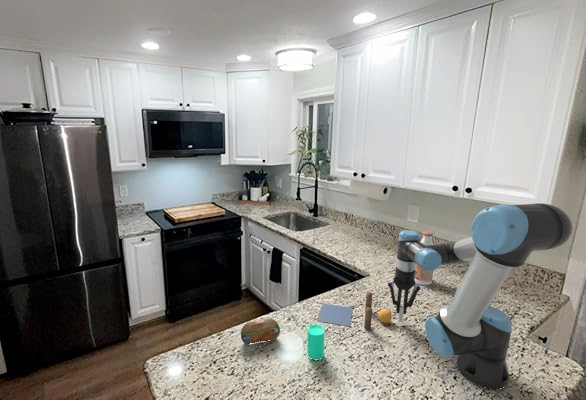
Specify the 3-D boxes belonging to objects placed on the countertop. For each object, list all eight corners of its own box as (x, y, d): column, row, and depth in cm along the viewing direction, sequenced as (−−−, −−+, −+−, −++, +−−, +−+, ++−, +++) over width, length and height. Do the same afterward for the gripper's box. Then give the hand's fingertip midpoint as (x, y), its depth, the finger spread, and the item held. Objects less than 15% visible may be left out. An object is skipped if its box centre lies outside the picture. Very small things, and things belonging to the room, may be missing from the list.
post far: (371, 313, 136) (372, 295, 134) (365, 312, 137) (366, 294, 135) (371, 310, 138) (372, 292, 136) (365, 309, 139) (366, 291, 137)
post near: (370, 330, 124) (372, 311, 122) (364, 329, 125) (365, 310, 123) (370, 327, 127) (372, 307, 125) (364, 326, 127) (365, 306, 125)
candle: (313, 346, 115) (314, 318, 112) (326, 354, 111) (327, 325, 108) (303, 355, 110) (304, 326, 107) (317, 363, 106) (318, 333, 104)
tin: (241, 347, 114) (240, 327, 113) (240, 341, 117) (239, 322, 116) (280, 340, 118) (280, 321, 116) (278, 335, 121) (278, 316, 119)
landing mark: (350, 326, 127) (350, 326, 127) (317, 321, 130) (317, 320, 130) (352, 308, 140) (352, 307, 140) (322, 303, 143) (322, 303, 143)
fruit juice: (426, 287, 159) (432, 237, 153) (409, 280, 166) (414, 232, 160) (435, 282, 165) (441, 233, 158) (418, 275, 172) (423, 228, 165)
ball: (379, 312, 127) (377, 323, 129) (392, 315, 126) (390, 327, 127) (379, 305, 132) (378, 316, 134) (393, 308, 131) (390, 319, 132)
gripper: (421, 266, 125) (415, 317, 130) (388, 262, 128) (384, 312, 133) (424, 274, 118) (417, 327, 123) (389, 270, 121) (384, 322, 126)
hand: (400, 319), depth 128 cm, fingers closed
